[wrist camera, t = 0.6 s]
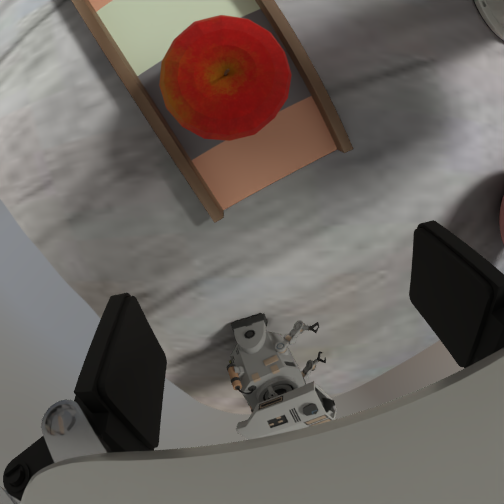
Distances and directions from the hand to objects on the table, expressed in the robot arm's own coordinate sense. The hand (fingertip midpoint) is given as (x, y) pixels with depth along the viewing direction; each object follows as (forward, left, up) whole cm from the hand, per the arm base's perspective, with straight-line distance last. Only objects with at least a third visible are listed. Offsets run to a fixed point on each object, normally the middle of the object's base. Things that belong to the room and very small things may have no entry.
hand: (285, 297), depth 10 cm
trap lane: (-2, -11, -22) cm, 25 cm away
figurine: (+8, +22, -22) cm, 32 cm away
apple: (-2, -7, -22) cm, 23 cm away
